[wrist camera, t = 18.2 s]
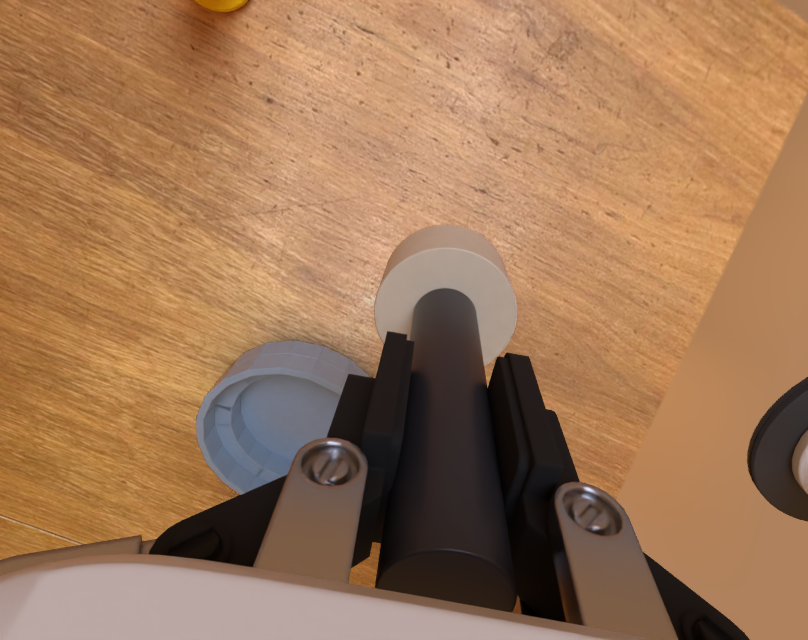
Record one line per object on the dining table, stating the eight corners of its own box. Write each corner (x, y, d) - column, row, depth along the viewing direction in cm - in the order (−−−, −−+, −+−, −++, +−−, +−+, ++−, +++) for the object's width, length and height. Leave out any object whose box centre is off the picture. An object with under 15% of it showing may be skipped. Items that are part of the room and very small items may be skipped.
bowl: (401, 355, 38) (396, 390, 34) (374, 485, 45) (366, 527, 41) (222, 320, 38) (193, 350, 34) (222, 455, 45) (198, 495, 41)
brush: (521, 236, 18) (672, 515, 6) (489, 347, 20) (554, 707, 8) (393, 213, 18) (295, 447, 6) (376, 326, 20) (280, 657, 8)
